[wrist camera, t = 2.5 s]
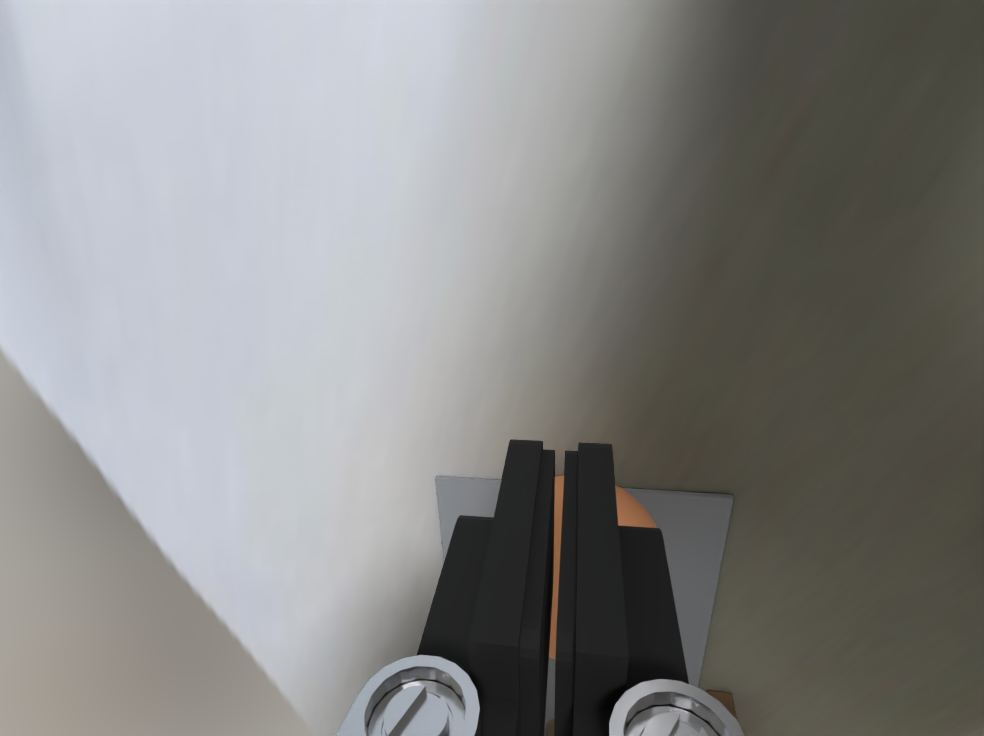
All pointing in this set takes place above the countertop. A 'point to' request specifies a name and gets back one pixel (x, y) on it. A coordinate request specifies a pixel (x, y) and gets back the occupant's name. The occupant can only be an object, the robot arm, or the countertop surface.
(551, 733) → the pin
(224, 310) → the countertop surface
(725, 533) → the plate
